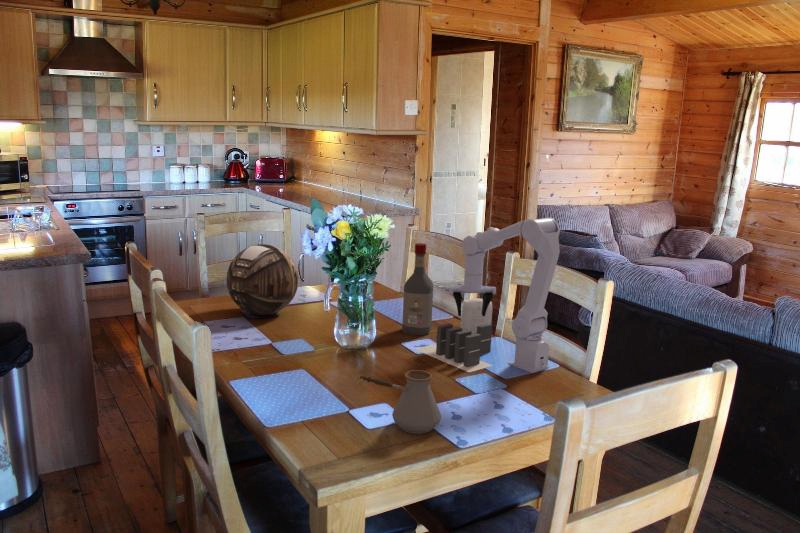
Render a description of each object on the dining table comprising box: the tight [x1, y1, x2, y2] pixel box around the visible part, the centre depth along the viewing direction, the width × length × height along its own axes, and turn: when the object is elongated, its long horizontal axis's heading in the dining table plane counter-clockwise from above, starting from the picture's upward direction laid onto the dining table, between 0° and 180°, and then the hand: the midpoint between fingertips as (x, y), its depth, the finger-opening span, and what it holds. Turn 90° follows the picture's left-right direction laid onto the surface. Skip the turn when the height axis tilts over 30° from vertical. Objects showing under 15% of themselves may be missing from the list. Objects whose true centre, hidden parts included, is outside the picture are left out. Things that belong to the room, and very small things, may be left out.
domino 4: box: [464, 333, 481, 367], centre depth 204 cm, size 2×5×9 cm, turn 129°
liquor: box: [401, 242, 434, 336], centre depth 233 cm, size 9×9×30 cm
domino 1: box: [435, 323, 454, 356], centre depth 213 cm, size 2×5×9 cm, turn 129°
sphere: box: [226, 243, 300, 316], centre depth 247 cm, size 25×25×25 cm
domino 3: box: [454, 330, 472, 363], centre depth 207 cm, size 2×5×9 cm, turn 129°
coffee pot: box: [356, 369, 442, 435], centre depth 160 cm, size 21×12×15 cm, turn 120°
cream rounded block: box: [460, 297, 493, 335], centre depth 234 cm, size 10×4×12 cm, turn 98°
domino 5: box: [477, 323, 493, 355], centre depth 216 cm, size 2×5×9 cm, turn 129°
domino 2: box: [445, 326, 462, 359], centre depth 210 cm, size 2×5×9 cm, turn 129°
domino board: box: [414, 343, 494, 373], centre depth 211 cm, size 24×10×1 cm, turn 39°
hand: (471, 315), depth 222 cm, fingers open, 7 cm apart
